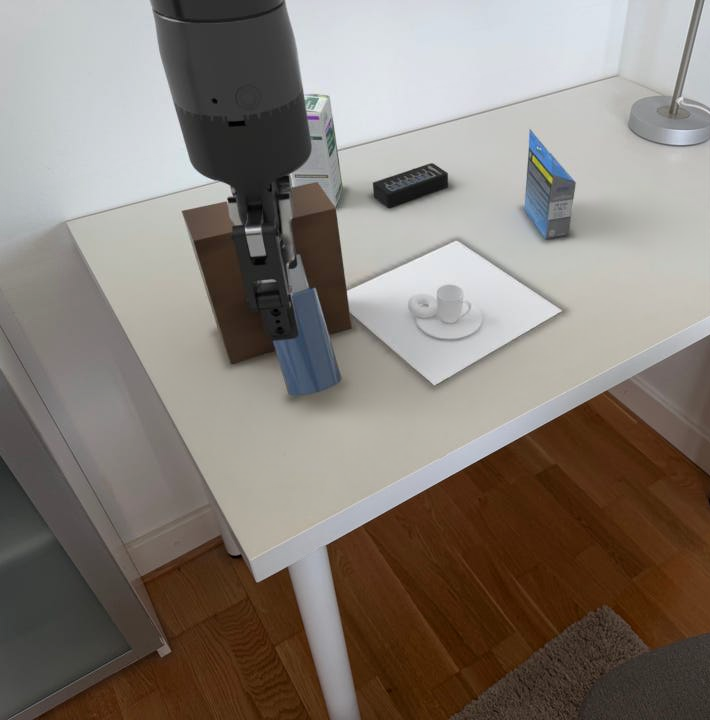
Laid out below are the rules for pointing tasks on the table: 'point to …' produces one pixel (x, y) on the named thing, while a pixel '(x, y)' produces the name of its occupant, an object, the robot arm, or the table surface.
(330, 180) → the syrup box
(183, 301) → the table surface
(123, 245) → the table surface
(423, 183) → the multiport hub
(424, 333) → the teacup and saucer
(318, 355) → the blue cylinder
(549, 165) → the blue grey carton
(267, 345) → the walnut block
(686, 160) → the table surface
